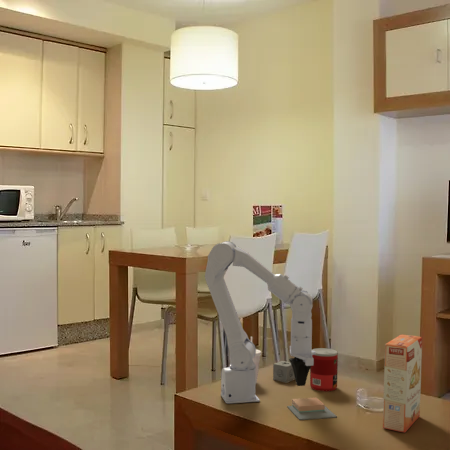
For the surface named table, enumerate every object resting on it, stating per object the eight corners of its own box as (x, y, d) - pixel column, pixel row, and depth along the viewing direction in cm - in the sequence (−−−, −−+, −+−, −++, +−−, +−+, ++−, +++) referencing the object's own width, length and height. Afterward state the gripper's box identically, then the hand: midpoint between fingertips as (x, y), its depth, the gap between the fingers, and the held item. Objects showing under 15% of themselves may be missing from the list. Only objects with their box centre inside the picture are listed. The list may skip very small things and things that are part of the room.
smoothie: (263, 380, 184) (264, 335, 184) (257, 386, 178) (258, 340, 178) (243, 378, 186) (244, 334, 186) (237, 384, 180) (237, 338, 180)
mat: (299, 420, 151) (299, 419, 151) (287, 407, 160) (287, 406, 160) (336, 417, 153) (336, 416, 153) (322, 404, 163) (322, 403, 163)
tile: (291, 404, 161) (299, 412, 155) (291, 399, 161) (299, 406, 155) (316, 403, 163) (324, 410, 157) (316, 397, 163) (324, 404, 157)
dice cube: (295, 379, 187) (295, 363, 187) (286, 382, 183) (287, 366, 183) (281, 376, 190) (282, 360, 190) (273, 379, 186) (273, 363, 186)
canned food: (339, 392, 174) (339, 354, 174) (311, 391, 174) (312, 354, 174) (335, 384, 182) (335, 348, 181) (308, 383, 182) (308, 347, 181)
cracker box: (407, 434, 142) (408, 346, 141) (381, 429, 145) (383, 343, 144) (421, 416, 154) (423, 335, 153) (398, 412, 157) (399, 333, 156)
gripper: (324, 341, 158) (324, 392, 158) (306, 330, 172) (305, 376, 173) (299, 342, 156) (298, 393, 157) (282, 330, 171) (282, 378, 171)
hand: (300, 385), depth 165 cm, fingers closed
